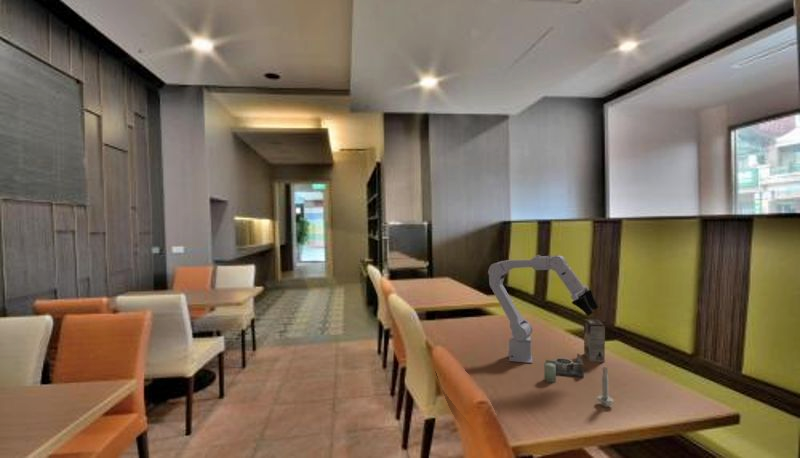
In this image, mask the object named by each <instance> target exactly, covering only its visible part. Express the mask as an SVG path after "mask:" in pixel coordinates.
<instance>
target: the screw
mask: <svg viewBox="0 0 800 458" xmlns="http://www.w3.org/2000/svg"><path fill="white" fill-rule="evenodd" d="M601 380H602V381H601V385H602V386H601V394H599V395H598V396H596V399H597V401H598V402H600V405H601V406H602V407H604V408H610V405H611V404H613V403H614V399H613V398H612V397H611V396H609V374H608V367H606V366H603V368H602V375H601Z"/></svg>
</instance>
